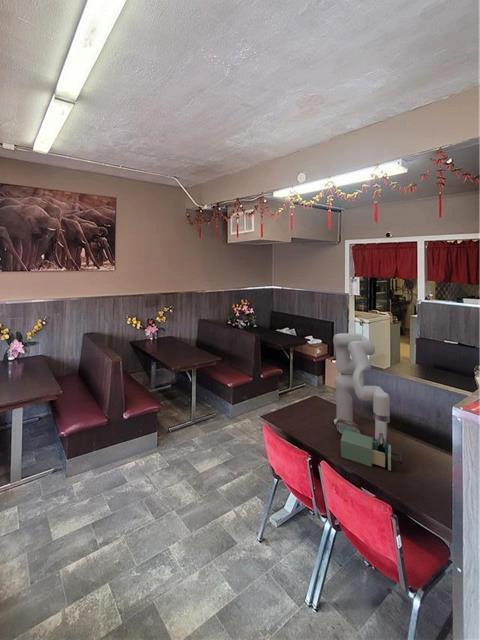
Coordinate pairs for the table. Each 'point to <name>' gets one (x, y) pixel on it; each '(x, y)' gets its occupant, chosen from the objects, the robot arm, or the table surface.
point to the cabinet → (357, 447)
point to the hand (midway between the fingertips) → (381, 450)
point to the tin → (348, 427)
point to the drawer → (383, 457)
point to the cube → (384, 446)
